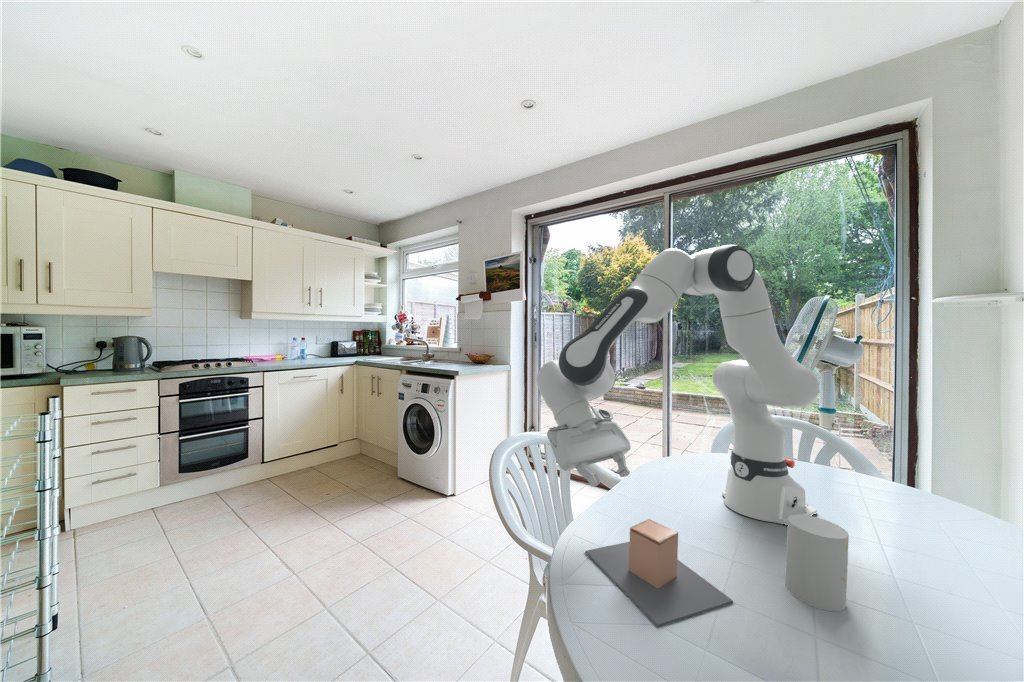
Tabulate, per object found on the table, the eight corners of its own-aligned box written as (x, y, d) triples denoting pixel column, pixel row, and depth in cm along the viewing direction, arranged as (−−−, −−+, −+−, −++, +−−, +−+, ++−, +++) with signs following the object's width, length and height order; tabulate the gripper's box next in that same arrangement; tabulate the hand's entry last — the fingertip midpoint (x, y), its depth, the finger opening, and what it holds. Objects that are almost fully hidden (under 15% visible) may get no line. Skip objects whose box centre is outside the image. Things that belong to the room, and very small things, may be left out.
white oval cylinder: (858, 615, 59) (861, 541, 59) (801, 606, 60) (804, 534, 60) (826, 582, 67) (828, 517, 67) (776, 575, 68) (778, 512, 68)
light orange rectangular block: (647, 559, 71) (649, 519, 71) (676, 576, 67) (678, 532, 66) (628, 570, 68) (630, 527, 68) (657, 588, 63) (659, 542, 63)
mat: (648, 539, 79) (649, 517, 79) (733, 603, 61) (734, 573, 61) (585, 552, 74) (586, 528, 74) (657, 627, 55) (658, 595, 55)
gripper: (551, 420, 75) (585, 483, 67) (615, 410, 87) (650, 463, 79) (536, 436, 78) (567, 498, 71) (599, 425, 91) (631, 477, 83)
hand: (611, 480), depth 75 cm, fingers open, 8 cm apart
